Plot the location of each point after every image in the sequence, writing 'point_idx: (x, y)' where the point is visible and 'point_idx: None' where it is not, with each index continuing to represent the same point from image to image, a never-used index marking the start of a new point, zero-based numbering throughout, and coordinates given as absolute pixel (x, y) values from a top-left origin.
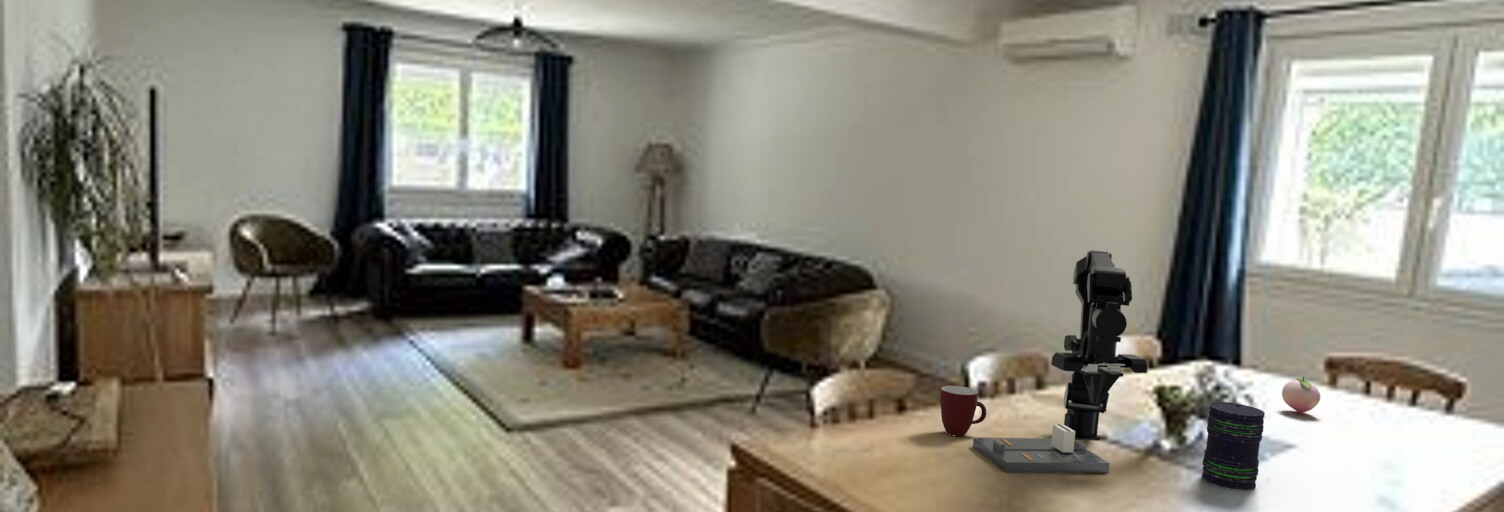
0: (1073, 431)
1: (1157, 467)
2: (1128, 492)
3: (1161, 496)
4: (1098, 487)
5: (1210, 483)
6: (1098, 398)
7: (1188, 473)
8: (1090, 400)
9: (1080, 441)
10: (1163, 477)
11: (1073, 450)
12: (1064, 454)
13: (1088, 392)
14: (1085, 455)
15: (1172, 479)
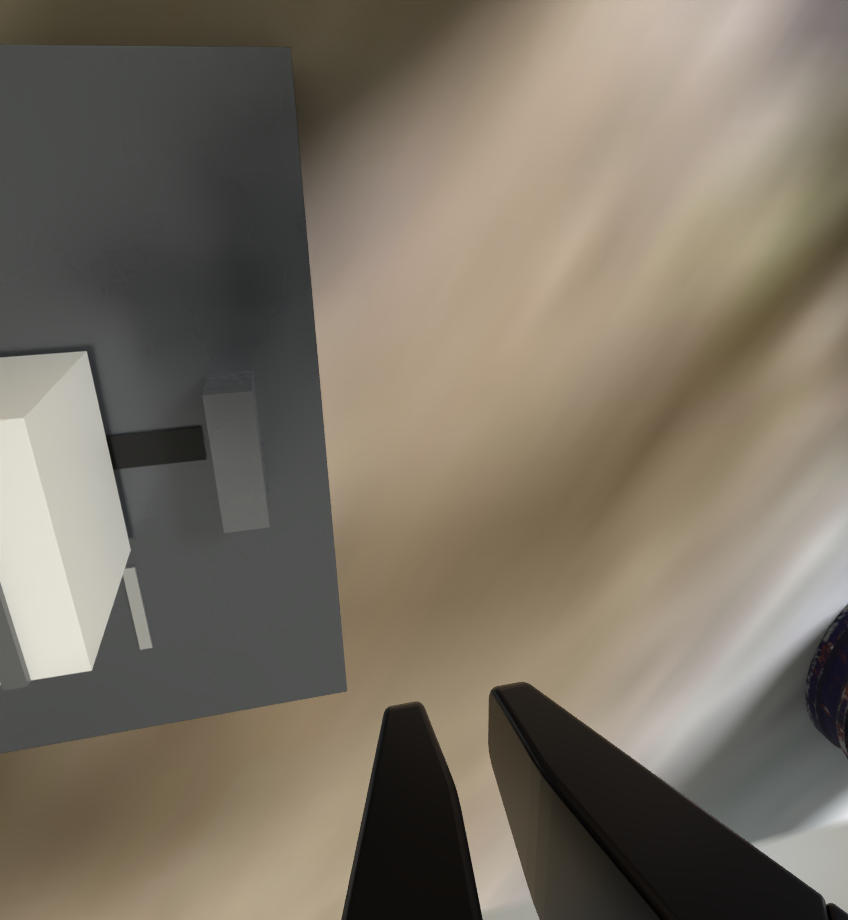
0: (66, 674)
1: (722, 498)
2: (296, 895)
3: None
4: (152, 875)
5: (805, 694)
6: (522, 820)
7: (819, 570)
8: (379, 737)
9: (255, 426)
10: (633, 656)
11: (128, 556)
12: None
13: (350, 883)
14: (230, 567)
15: (660, 675)
